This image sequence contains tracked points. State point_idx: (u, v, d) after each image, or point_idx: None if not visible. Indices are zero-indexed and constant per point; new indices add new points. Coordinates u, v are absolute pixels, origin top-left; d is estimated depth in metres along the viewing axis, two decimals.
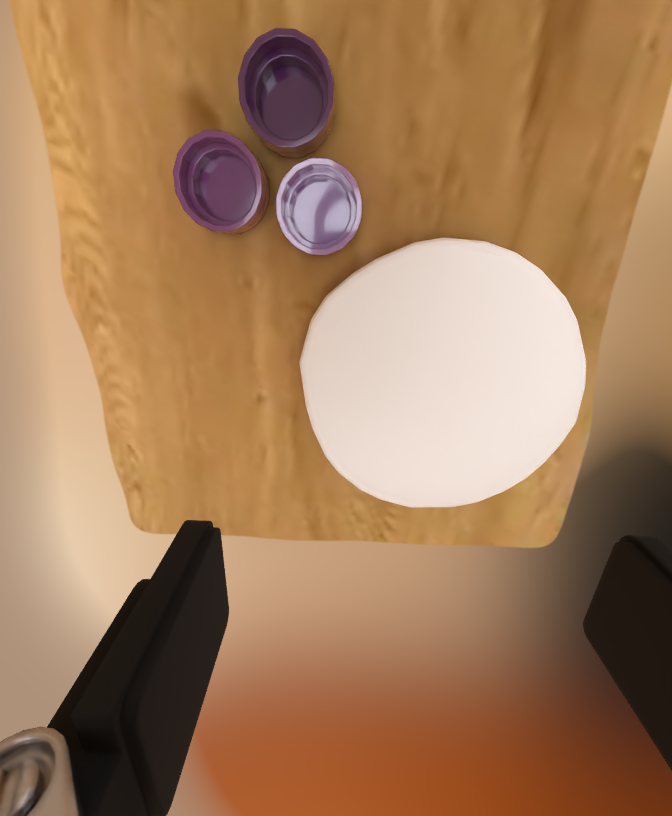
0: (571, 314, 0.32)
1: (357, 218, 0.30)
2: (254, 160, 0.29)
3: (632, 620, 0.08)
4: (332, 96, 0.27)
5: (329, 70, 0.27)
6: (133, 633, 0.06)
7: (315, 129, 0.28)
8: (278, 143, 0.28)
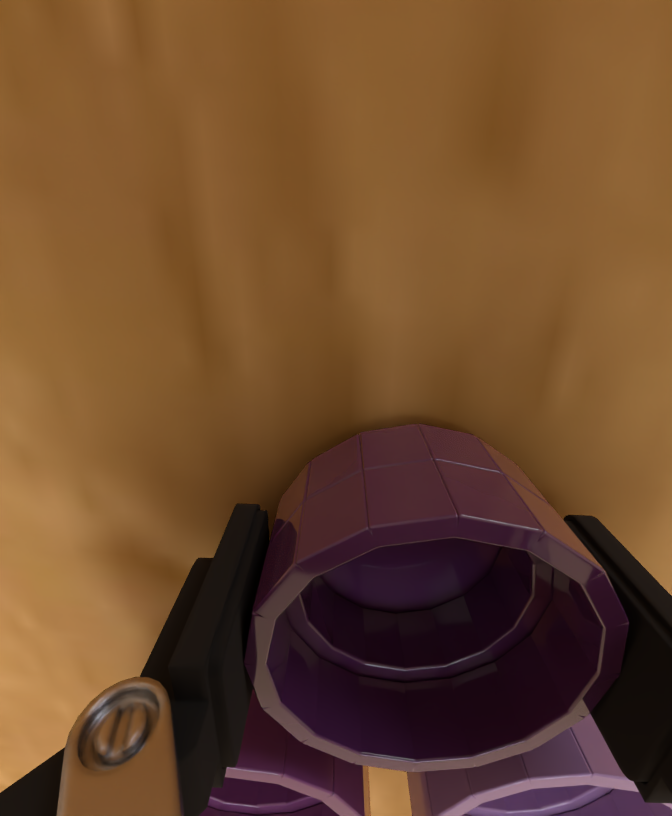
0: None
1: None
2: (338, 801, 0.09)
3: None
4: (620, 658, 0.07)
5: (613, 601, 0.06)
6: (209, 599, 0.06)
7: (547, 730, 0.08)
8: (414, 768, 0.08)
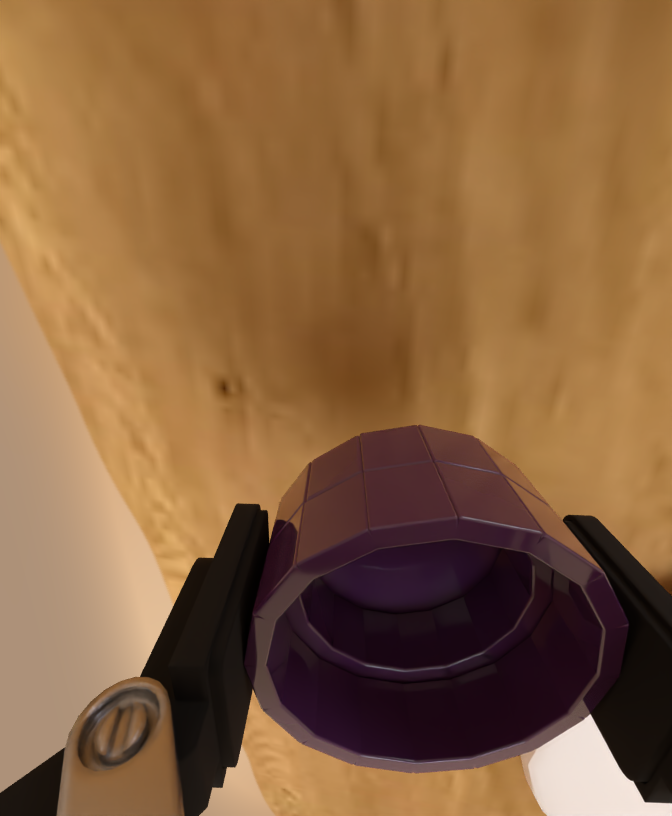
0: None
1: None
2: None
3: None
4: (620, 660, 0.07)
5: (613, 602, 0.06)
6: (209, 599, 0.06)
7: (547, 731, 0.08)
8: (414, 769, 0.08)
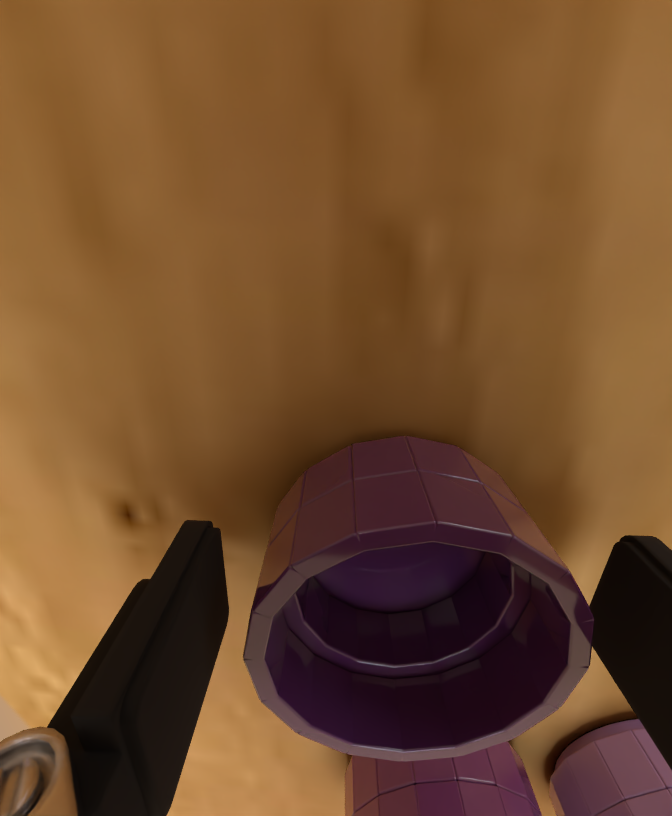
0: None
1: None
2: None
3: (632, 620, 0.08)
4: (588, 652, 0.07)
5: (579, 599, 0.07)
6: (133, 633, 0.06)
7: (524, 720, 0.08)
8: (402, 757, 0.09)
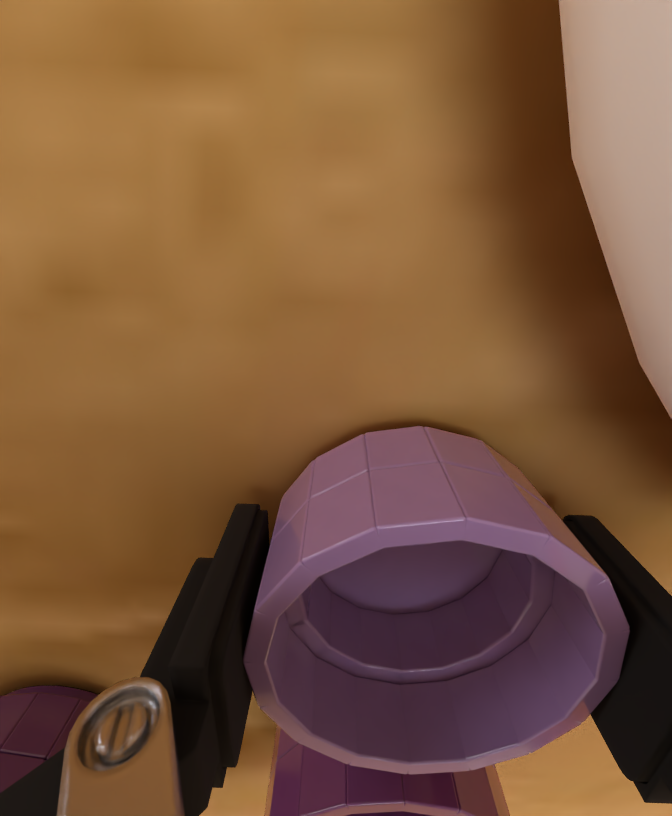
0: None
1: (464, 536, 0.06)
2: None
3: None
4: None
5: None
6: (209, 599, 0.06)
7: None
8: None
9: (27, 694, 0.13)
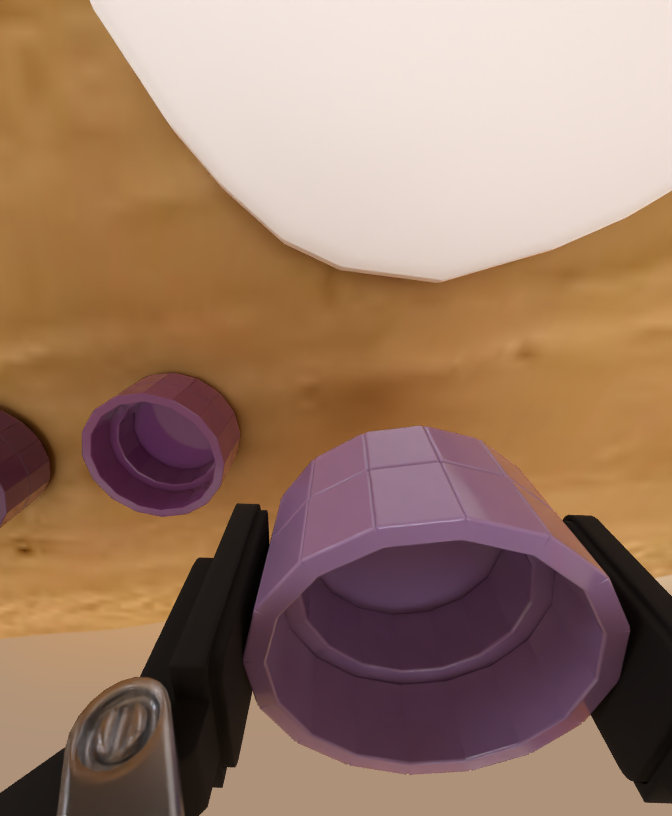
0: None
1: (464, 535, 0.06)
2: (99, 408, 0.17)
3: None
4: None
5: None
6: (209, 599, 0.06)
7: None
8: None
9: None
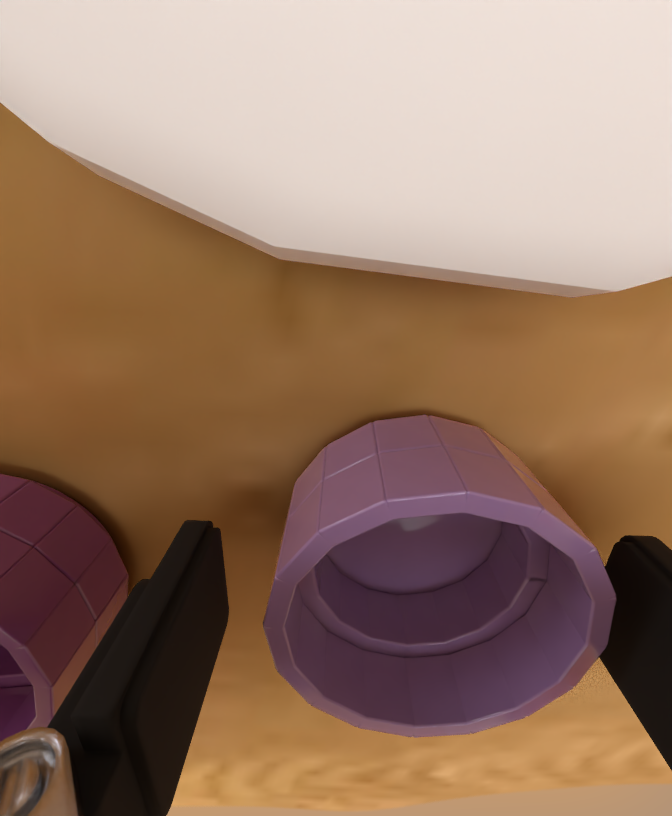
0: None
1: (465, 508, 0.06)
2: None
3: (632, 620, 0.08)
4: None
5: None
6: (133, 634, 0.06)
7: None
8: None
9: None
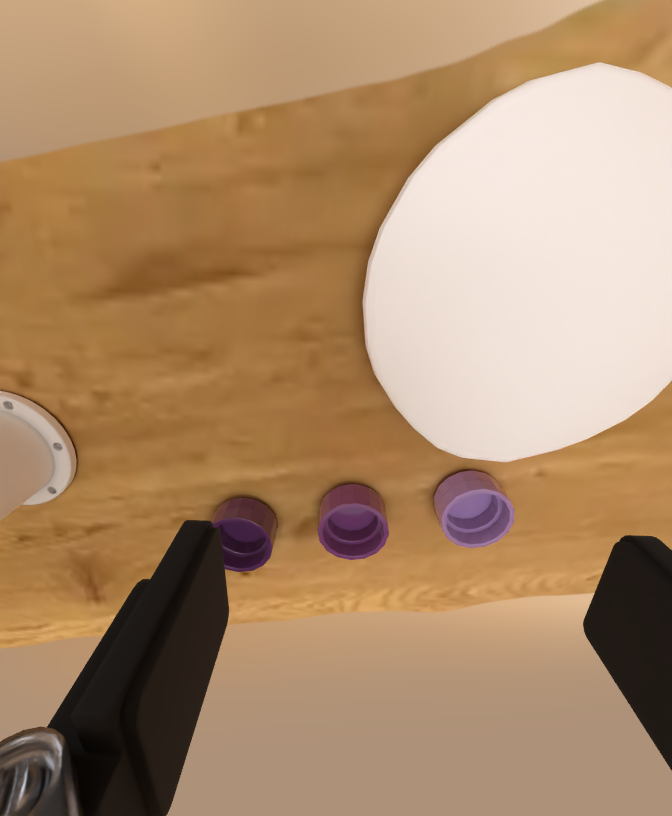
0: (433, 160, 0.24)
1: (484, 492, 0.35)
2: (332, 509, 0.36)
3: (632, 620, 0.08)
4: (231, 518, 0.36)
5: (217, 522, 0.37)
6: (133, 633, 0.06)
7: (254, 526, 0.37)
8: (270, 547, 0.38)
9: (240, 498, 0.39)
